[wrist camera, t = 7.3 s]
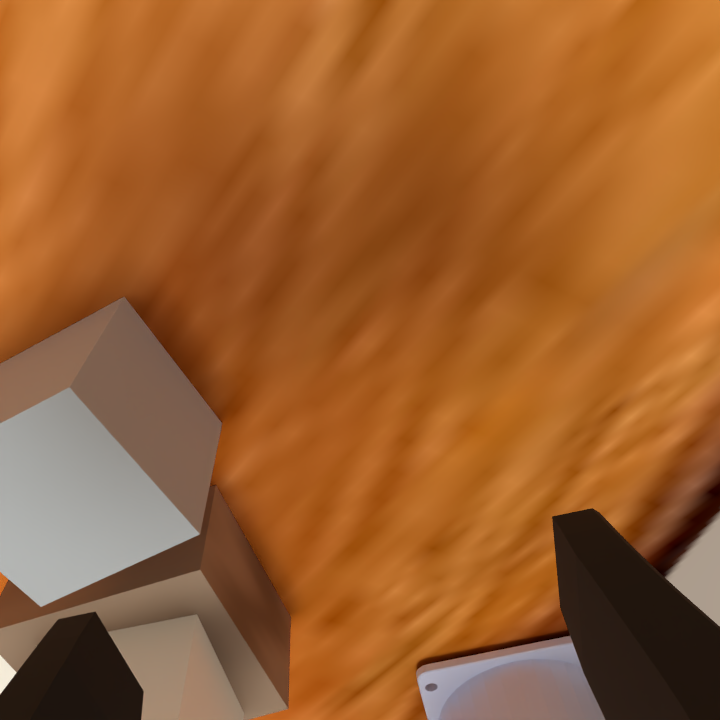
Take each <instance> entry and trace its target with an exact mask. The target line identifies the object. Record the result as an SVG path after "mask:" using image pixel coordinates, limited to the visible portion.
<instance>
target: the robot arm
mask: <svg viewBox="0 0 720 720" xmlns="http://www.w3.org/2000/svg"><path fill="white" fill-rule="evenodd" d="M552 519H553V530H554V542H555V553H556V564H557V575H558V587H559V598H560V608H561V611H562V614H563V616H564V619H565V622H566V625H567V628H568V631H569V634H570V636H566V637H561V638H556V639H551V640H546V641H541V642H536V643H531V644H526V645H521V646H516V647H511V648H506V649H501V650H496V651H491V652H486V653H481V654H476V655H471V656H466V657H461V658H456V659H451V660H446V661H441V662H436V663H431V664H426V665H423V666H421V667H420V668H419V669H418V670H417V671H416V676H417V682H418V686H419V689H420V693H421V697H422V700H423V704H424V708H425V712H426V715H427V719H428V720H720V627H719V626H718V625H717V624H716V623H715V622H714V621H713V620H711V619H710V618H709V617H708V616H707V615H706V614H705V613H704V612H702V611H701V610H700V609H699V608H698V607H697V606H696V605H694V604H693V603H692V602H691V601H690V600H689V599H688V598H687V597H685V596H684V595H683V594H682V593H681V592H680V591H679V590H678V589H676V588H675V587H674V586H673V585H672V584H671V583H670V582H669V581H668V580H667V579H666V578H664V577H663V576H662V575H661V574H660V573H659V572H658V571H657V570H656V569H655V568H654V567H653V566H652V565H651V564H650V563H649V562H648V561H647V560H646V559H645V558H643V557H642V556H641V555H640V554H639V553H638V552H637V551H636V550H635V549H634V548H633V547H632V546H631V545H630V544H629V543H628V542H627V541H626V540H625V539H624V538H623V537H622V536H621V535H620V534H619V533H618V532H617V531H616V529H615V528H614V527H613V526H612V525H611V524H610V523H609V522H608V521H607V520H606V519H605V518H604V517H603V516H602V515H601V514H600V513H599V512H597V511H596V510H594V509H593V508H592V509H587V510H582V511H577V512H572V513H568V514H563V515H558V516H553V517H552ZM143 695H144V691H143V689H142V687H141V686H140V684H139V683H138V681H137V679H136V678H135V676H134V674H133V673H132V671H131V669H130V668H129V666H128V664H127V663H126V661H125V659H124V658H123V656H122V654H121V653H120V651H119V650H118V648H117V646H116V645H115V643H114V641H113V640H112V638H111V636H110V635H109V633H108V631H107V630H106V628H105V626H104V625H103V623H102V621H101V620H100V618H99V617H98V615H97V613H96V612H90V613H86V614H81V615H76V616H71V617H66V618H61V619H58V620H57V621H56V623H55V624H54V625H53V626H52V627H51V629H50V630H49V631H48V632H47V634H46V635H45V636H44V637H43V639H42V640H41V641H40V643H39V644H38V645H37V647H36V648H35V649H34V650H33V652H32V653H31V654H30V656H29V657H28V658H27V660H26V661H25V662H24V664H23V665H22V666H21V668H20V669H19V670H18V671H17V673H16V674H15V675H14V677H13V678H12V679H11V681H10V682H9V683H8V685H7V686H6V687H5V689H4V690H3V691H2V693H1V694H0V720H141V716H142V705H143Z"/></svg>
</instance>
